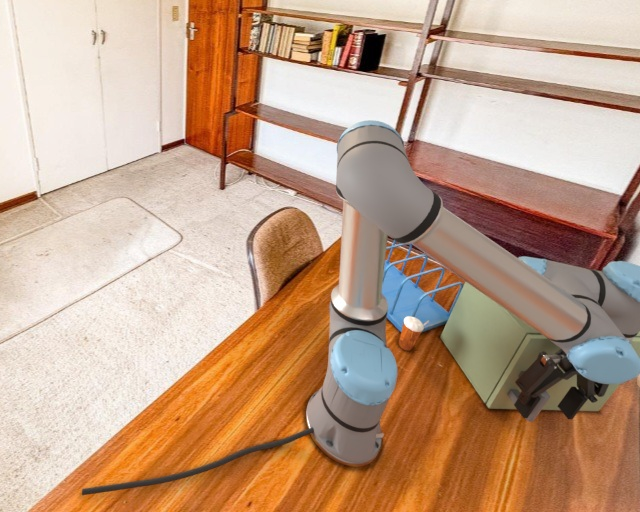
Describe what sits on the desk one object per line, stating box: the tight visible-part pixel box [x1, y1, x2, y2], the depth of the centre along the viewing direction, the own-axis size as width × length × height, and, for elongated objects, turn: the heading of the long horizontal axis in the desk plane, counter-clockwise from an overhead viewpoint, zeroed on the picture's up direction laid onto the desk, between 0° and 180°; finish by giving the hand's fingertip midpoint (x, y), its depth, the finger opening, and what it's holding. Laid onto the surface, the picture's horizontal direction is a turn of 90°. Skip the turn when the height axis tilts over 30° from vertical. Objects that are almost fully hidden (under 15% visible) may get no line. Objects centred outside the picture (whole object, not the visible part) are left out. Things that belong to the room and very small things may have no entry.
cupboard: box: [440, 281, 640, 404], centre depth 95 cm, size 18×26×24 cm
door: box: [485, 334, 640, 423], centre depth 83 cm, size 7×26×23 cm, turn 90°
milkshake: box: [398, 316, 429, 351], centre depth 103 cm, size 4×5×10 cm
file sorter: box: [382, 239, 464, 333], centre depth 117 cm, size 25×17×15 cm
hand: (542, 412), depth 82 cm, fingers open, 9 cm apart
